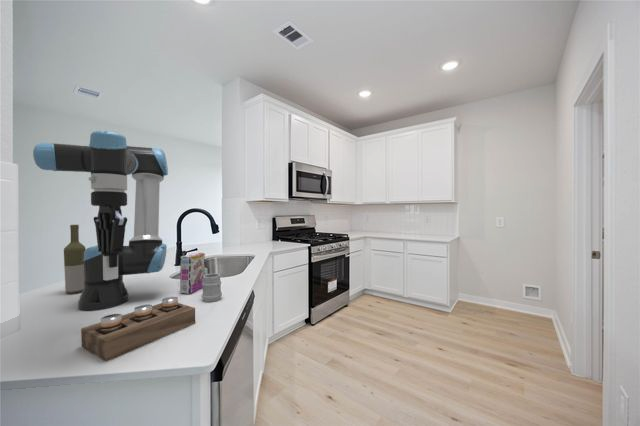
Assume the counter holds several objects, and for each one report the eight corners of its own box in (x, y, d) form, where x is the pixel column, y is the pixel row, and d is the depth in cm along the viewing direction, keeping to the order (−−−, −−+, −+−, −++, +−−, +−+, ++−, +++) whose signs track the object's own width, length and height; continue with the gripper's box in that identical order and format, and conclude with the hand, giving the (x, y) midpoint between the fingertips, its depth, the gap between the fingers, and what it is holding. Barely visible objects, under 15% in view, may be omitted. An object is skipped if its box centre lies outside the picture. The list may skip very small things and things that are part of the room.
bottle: (63, 292, 114) (62, 224, 113) (84, 288, 119) (83, 224, 119) (65, 296, 109) (64, 225, 109) (87, 292, 115) (86, 224, 114)
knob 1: (97, 337, 69) (97, 318, 69) (117, 330, 73) (117, 312, 73) (105, 341, 67) (105, 322, 66) (125, 333, 71) (125, 315, 70)
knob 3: (159, 315, 83) (158, 299, 83) (172, 310, 87) (172, 295, 87) (167, 318, 81) (167, 302, 81) (181, 313, 85) (180, 297, 84)
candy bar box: (190, 294, 111) (190, 257, 111) (179, 294, 112) (179, 256, 112) (205, 286, 122) (205, 252, 122) (195, 286, 123) (195, 252, 123)
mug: (206, 304, 101) (206, 273, 100) (194, 297, 108) (194, 268, 108) (225, 298, 106) (225, 270, 106) (212, 292, 114) (211, 265, 114)
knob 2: (131, 325, 76) (130, 308, 76) (147, 319, 80) (147, 303, 80) (139, 328, 74) (139, 311, 74) (155, 322, 78) (155, 306, 77)
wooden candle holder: (81, 346, 70) (81, 328, 69) (169, 314, 91) (169, 300, 90) (106, 361, 63) (105, 341, 63) (195, 323, 84) (195, 307, 84)
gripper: (80, 191, 69) (82, 279, 69) (104, 189, 62) (105, 286, 63) (113, 192, 75) (115, 272, 76) (138, 191, 69) (139, 278, 69)
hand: (110, 278), depth 69 cm, fingers closed
